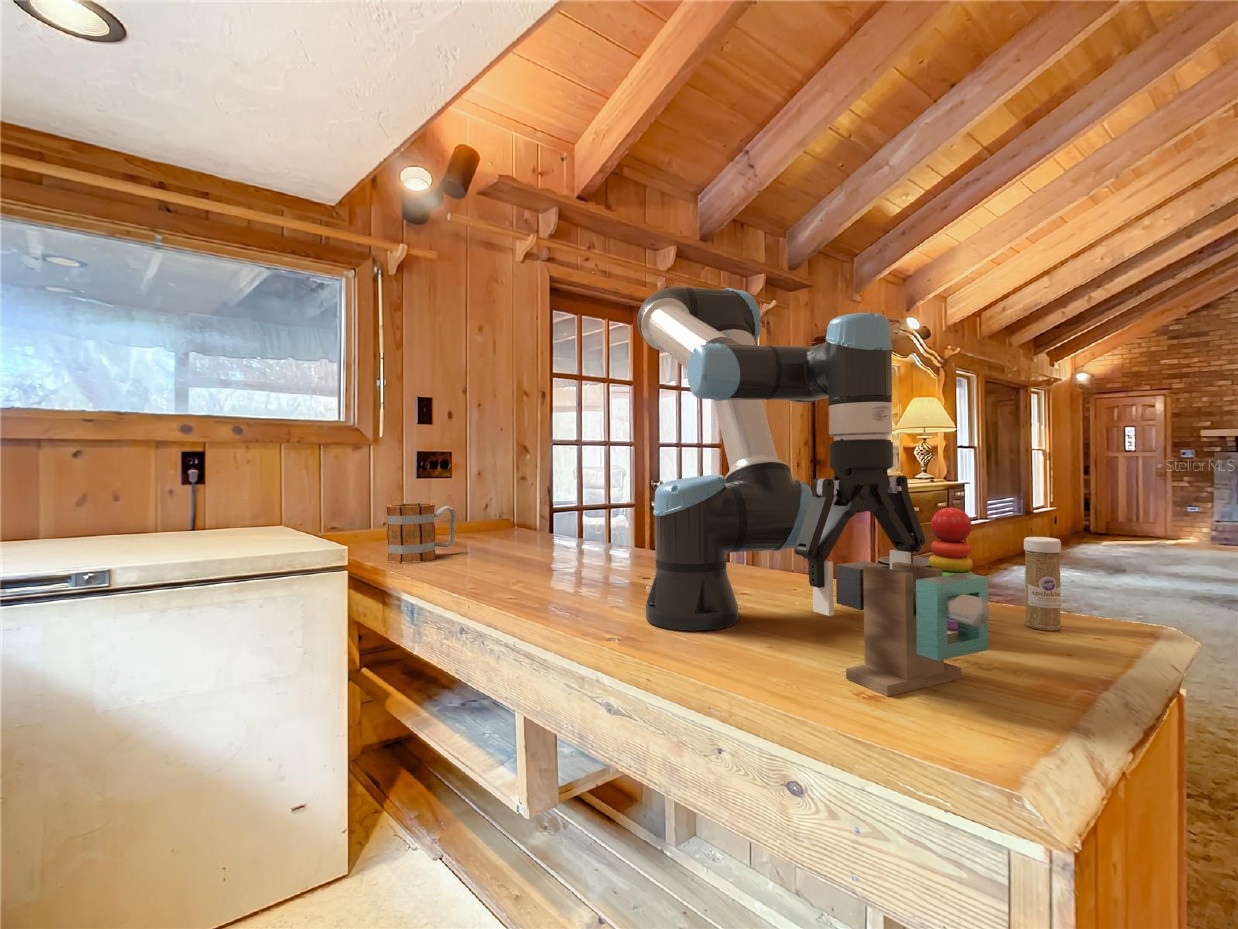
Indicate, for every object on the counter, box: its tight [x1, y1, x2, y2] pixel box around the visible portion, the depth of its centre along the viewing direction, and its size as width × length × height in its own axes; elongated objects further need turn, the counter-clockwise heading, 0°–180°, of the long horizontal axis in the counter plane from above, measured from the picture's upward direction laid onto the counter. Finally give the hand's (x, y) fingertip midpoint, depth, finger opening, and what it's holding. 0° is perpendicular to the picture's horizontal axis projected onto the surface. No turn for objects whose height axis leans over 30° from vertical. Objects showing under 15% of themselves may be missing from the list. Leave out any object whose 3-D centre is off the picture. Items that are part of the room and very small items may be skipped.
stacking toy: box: [929, 507, 974, 634], centre depth 86 cm, size 8×8×19 cm
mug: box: [386, 502, 456, 562], centre depth 168 cm, size 20×14×15 cm
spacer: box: [916, 573, 989, 661], centre depth 65 cm, size 2×8×8 cm, turn 114°
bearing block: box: [845, 562, 963, 697], centre depth 71 cm, size 6×12×13 cm, turn 114°
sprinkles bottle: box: [1023, 536, 1062, 632], centre depth 90 cm, size 5×5×14 cm
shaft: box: [835, 560, 990, 627], centre depth 70 cm, size 18×5×5 cm, turn 24°
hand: (863, 607), depth 76 cm, fingers open, 12 cm apart
